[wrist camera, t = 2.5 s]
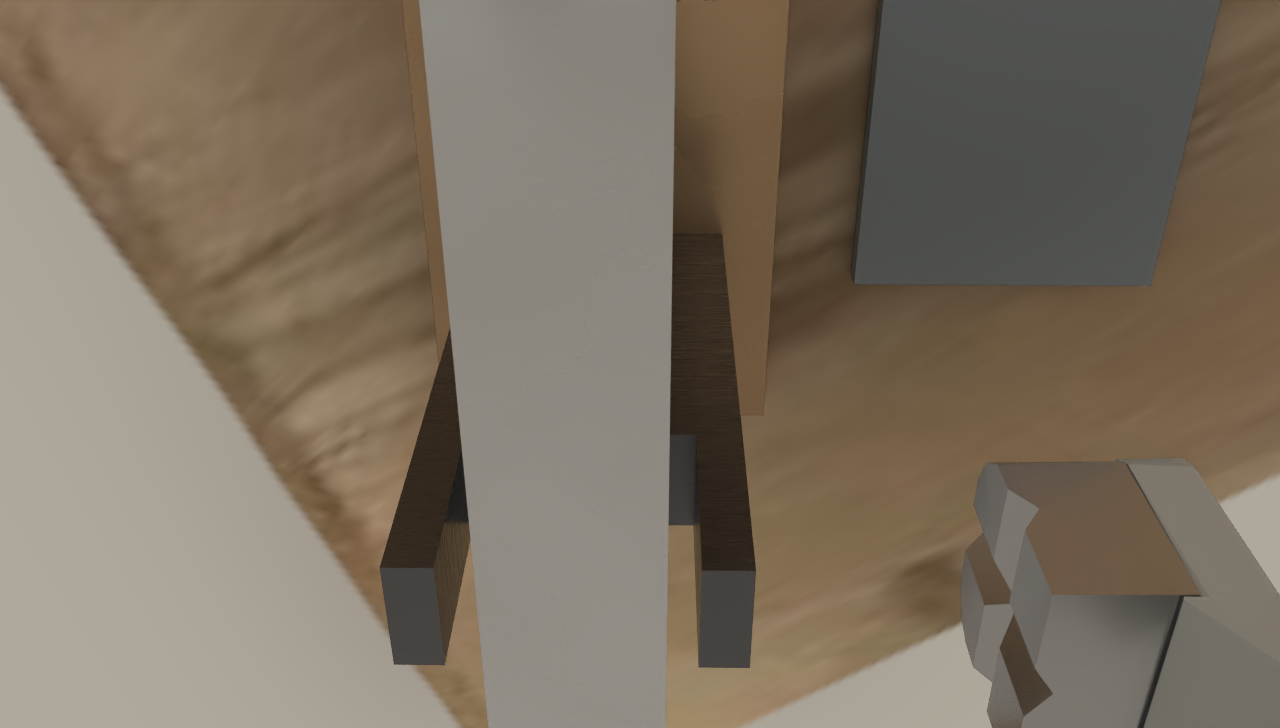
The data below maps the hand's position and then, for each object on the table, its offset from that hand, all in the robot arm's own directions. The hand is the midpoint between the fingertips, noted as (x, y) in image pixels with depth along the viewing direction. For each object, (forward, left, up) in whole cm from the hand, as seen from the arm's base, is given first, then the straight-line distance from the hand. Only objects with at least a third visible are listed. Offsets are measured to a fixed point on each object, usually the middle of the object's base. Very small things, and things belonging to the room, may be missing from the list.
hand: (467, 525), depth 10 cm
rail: (0, 0, -10) cm, 10 cm away
